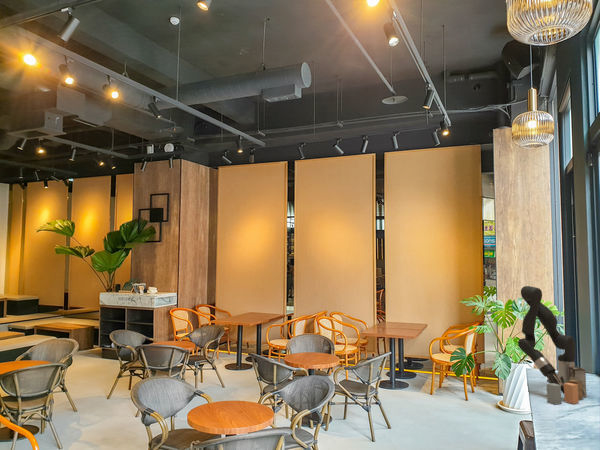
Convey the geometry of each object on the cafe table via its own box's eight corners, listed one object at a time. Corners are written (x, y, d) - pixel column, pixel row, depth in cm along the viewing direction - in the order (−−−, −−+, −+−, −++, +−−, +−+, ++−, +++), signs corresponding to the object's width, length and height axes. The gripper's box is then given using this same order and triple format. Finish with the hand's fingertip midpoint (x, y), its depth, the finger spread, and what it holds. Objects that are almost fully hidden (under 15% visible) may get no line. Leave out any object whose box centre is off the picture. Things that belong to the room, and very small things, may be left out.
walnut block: (569, 398, 265) (568, 380, 266) (574, 397, 268) (573, 379, 269) (577, 400, 261) (576, 382, 262) (582, 399, 263) (581, 381, 264)
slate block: (547, 402, 256) (546, 383, 257) (553, 401, 258) (552, 383, 260) (555, 404, 252) (555, 385, 253) (561, 403, 254) (560, 385, 255)
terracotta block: (564, 401, 258) (563, 383, 259) (569, 400, 260) (569, 382, 261) (573, 403, 253) (572, 385, 254) (578, 402, 256) (577, 384, 257)
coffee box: (569, 393, 277) (568, 366, 279) (581, 393, 276) (579, 366, 278) (575, 397, 268) (574, 369, 270) (587, 397, 267) (585, 369, 269)
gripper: (541, 363, 267) (562, 390, 255) (555, 362, 273) (577, 387, 261) (533, 371, 271) (554, 397, 259) (547, 369, 277) (568, 394, 265)
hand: (565, 392), depth 260 cm, fingers closed
